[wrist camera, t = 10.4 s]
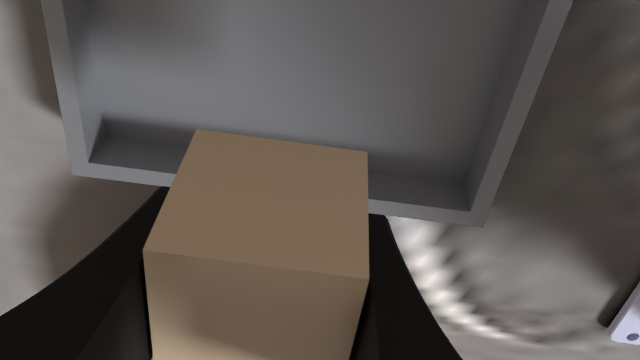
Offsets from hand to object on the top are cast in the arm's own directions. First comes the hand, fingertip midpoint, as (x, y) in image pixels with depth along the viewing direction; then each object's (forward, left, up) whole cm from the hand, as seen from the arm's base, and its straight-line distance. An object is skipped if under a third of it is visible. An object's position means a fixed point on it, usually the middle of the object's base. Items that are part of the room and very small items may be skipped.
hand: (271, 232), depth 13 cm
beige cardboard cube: (0, 0, -1) cm, 1 cm away
